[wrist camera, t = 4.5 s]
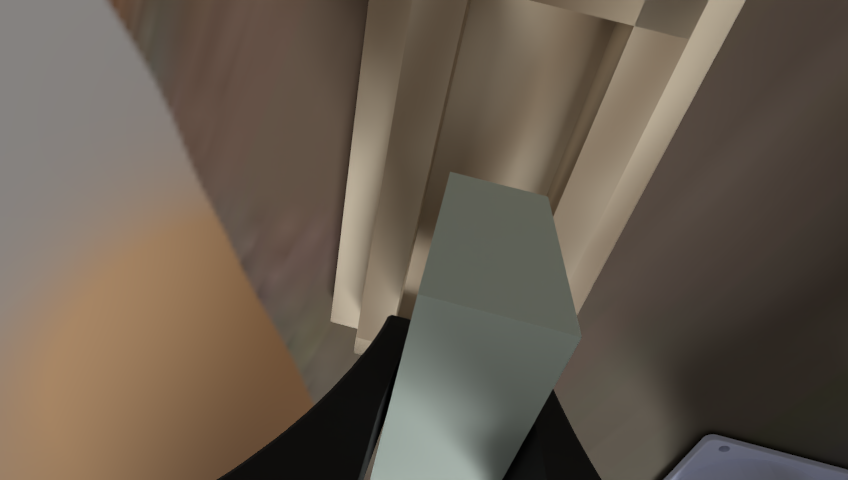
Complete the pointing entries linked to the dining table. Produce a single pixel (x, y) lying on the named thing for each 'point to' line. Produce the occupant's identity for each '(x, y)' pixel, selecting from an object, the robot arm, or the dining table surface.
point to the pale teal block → (479, 337)
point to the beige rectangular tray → (510, 126)
